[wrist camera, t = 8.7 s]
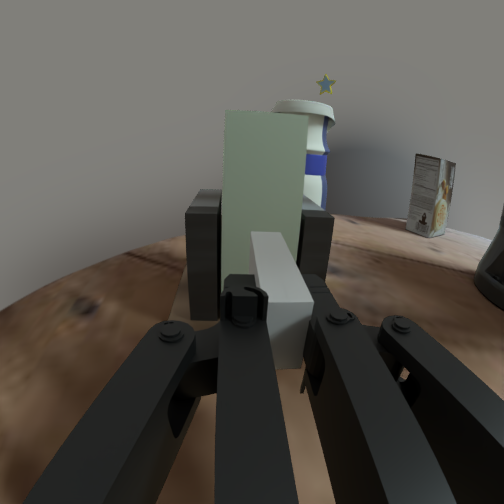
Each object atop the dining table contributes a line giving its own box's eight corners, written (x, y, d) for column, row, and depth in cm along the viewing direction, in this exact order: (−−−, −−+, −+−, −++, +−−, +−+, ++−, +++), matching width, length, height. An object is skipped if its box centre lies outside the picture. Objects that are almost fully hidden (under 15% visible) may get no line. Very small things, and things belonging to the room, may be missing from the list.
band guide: (347, 352, 19) (377, 233, 15) (162, 356, 17) (145, 227, 14) (302, 267, 32) (311, 189, 29) (188, 265, 31) (186, 185, 28)
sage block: (289, 316, 21) (308, 116, 15) (221, 316, 20) (225, 110, 15) (272, 265, 29) (282, 124, 24) (223, 265, 28) (227, 121, 23)
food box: (422, 226, 56) (432, 158, 50) (445, 234, 51) (456, 163, 45) (404, 229, 52) (415, 152, 46) (429, 239, 47) (442, 158, 41)
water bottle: (277, 230, 45) (286, 74, 36) (329, 241, 41) (342, 75, 32) (253, 246, 38) (263, 59, 29) (315, 259, 35) (330, 57, 25)
